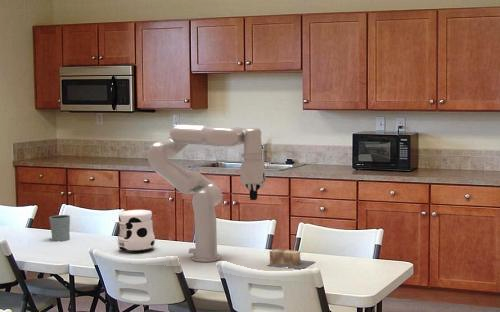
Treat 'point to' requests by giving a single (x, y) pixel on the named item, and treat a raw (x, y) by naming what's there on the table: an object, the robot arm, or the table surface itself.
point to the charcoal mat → (301, 265)
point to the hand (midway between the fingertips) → (253, 199)
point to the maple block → (285, 257)
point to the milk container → (135, 231)
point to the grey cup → (60, 227)
